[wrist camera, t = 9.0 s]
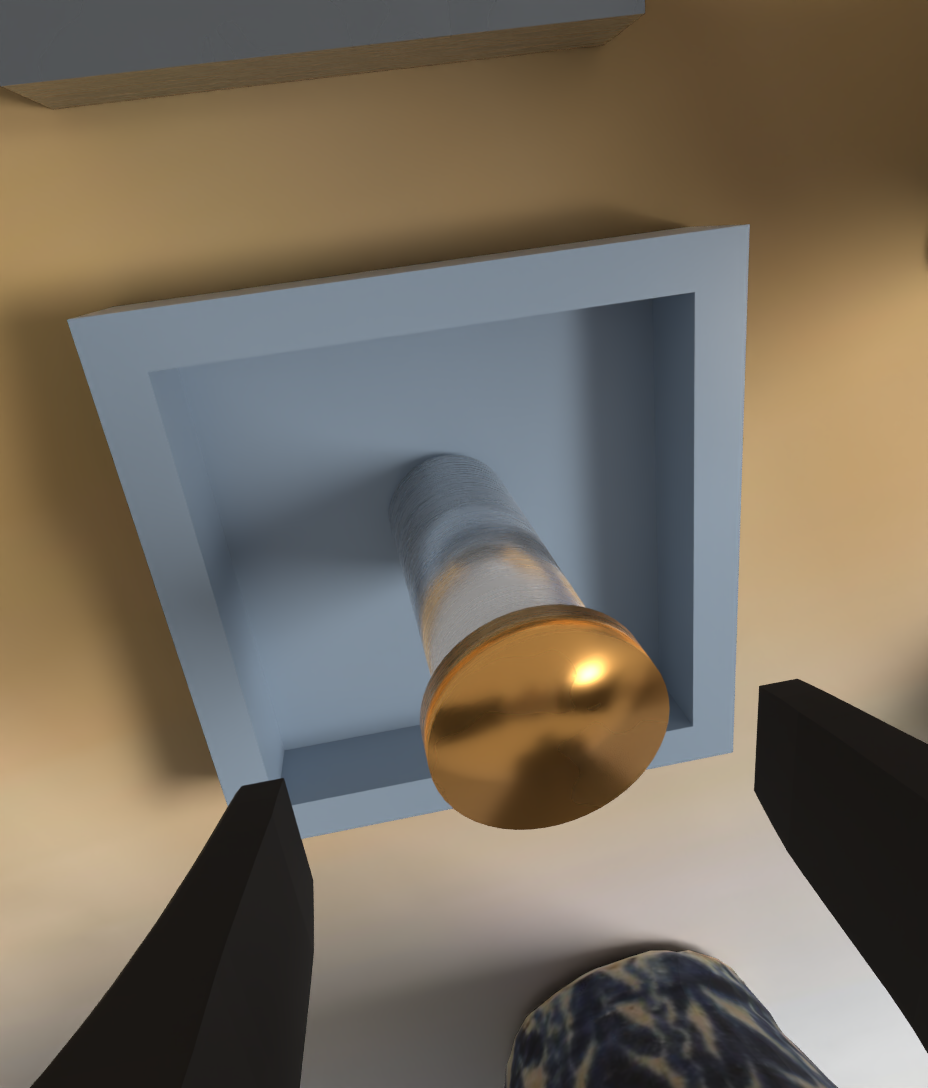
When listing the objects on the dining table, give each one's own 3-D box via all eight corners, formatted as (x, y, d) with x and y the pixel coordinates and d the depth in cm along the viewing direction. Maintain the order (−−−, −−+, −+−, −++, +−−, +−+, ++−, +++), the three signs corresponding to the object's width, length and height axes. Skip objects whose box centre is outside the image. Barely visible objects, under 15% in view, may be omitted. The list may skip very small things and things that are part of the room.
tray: (689, 226, 18) (749, 224, 15) (688, 692, 24) (733, 752, 21) (113, 306, 17) (66, 319, 14) (255, 776, 22) (242, 850, 20)
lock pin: (515, 426, 18) (670, 606, 11) (528, 561, 20) (668, 795, 13) (360, 456, 18) (407, 667, 10) (388, 591, 20) (446, 854, 12)
